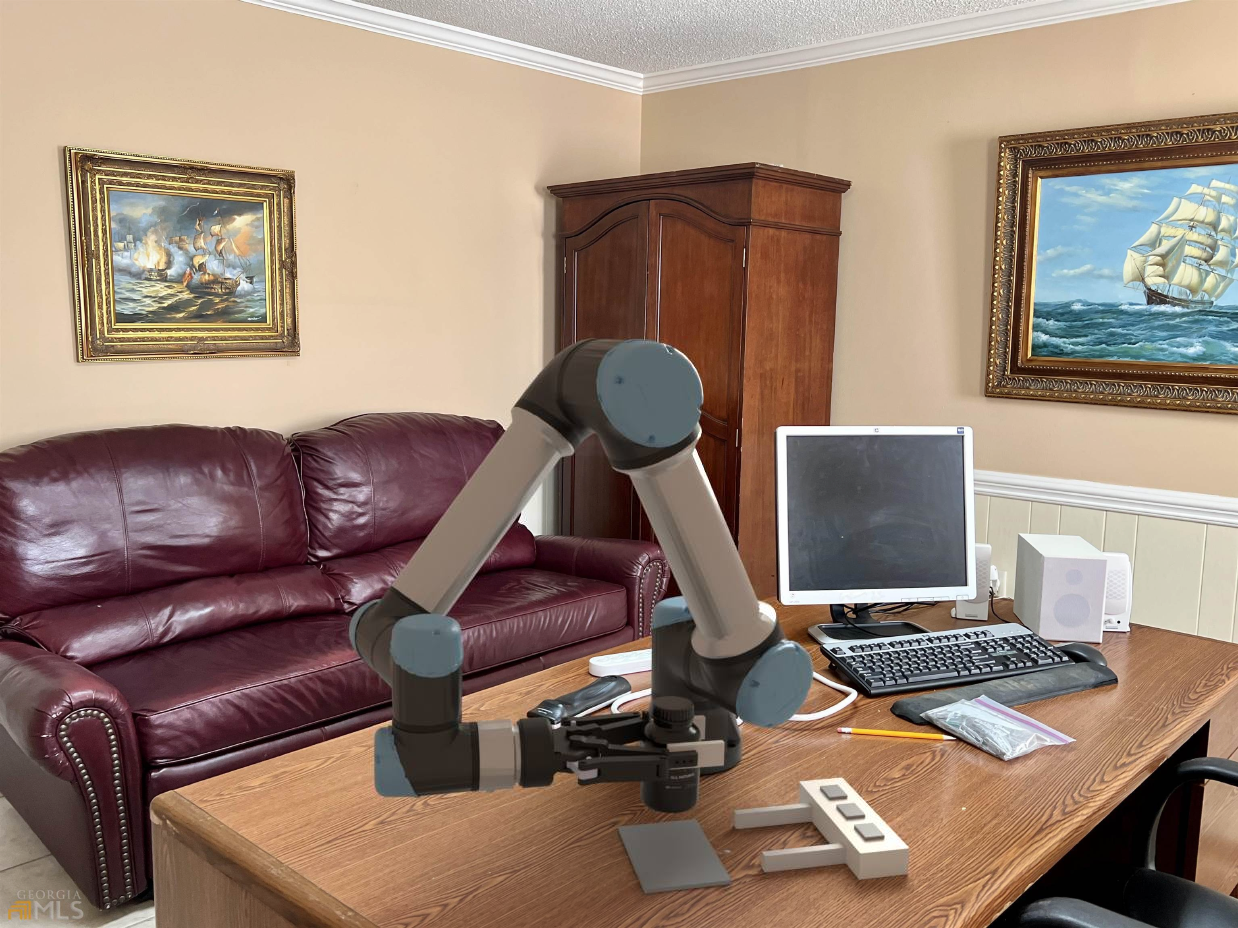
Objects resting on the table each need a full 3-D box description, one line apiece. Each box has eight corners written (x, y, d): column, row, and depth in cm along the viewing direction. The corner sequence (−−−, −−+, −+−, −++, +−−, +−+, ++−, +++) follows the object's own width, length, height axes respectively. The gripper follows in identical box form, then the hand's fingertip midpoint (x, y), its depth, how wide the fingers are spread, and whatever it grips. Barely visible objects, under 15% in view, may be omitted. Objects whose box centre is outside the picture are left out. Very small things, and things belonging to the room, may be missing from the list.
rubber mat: (618, 830, 124) (618, 826, 124) (695, 822, 126) (696, 818, 126) (644, 893, 110) (644, 889, 110) (731, 883, 112) (731, 879, 112)
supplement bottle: (681, 821, 112) (684, 718, 110) (629, 804, 116) (631, 705, 114) (709, 797, 118) (712, 699, 116) (658, 782, 121) (661, 687, 120)
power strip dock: (725, 811, 129) (725, 785, 128) (841, 800, 132) (842, 774, 131) (775, 889, 111) (776, 858, 111) (907, 873, 114) (909, 844, 114)
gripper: (507, 748, 122) (689, 736, 127) (526, 827, 103) (739, 809, 108) (507, 689, 121) (690, 679, 126) (526, 758, 102) (742, 743, 107)
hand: (713, 739), depth 117 cm, fingers closed on supplement bottle, 7 cm apart
